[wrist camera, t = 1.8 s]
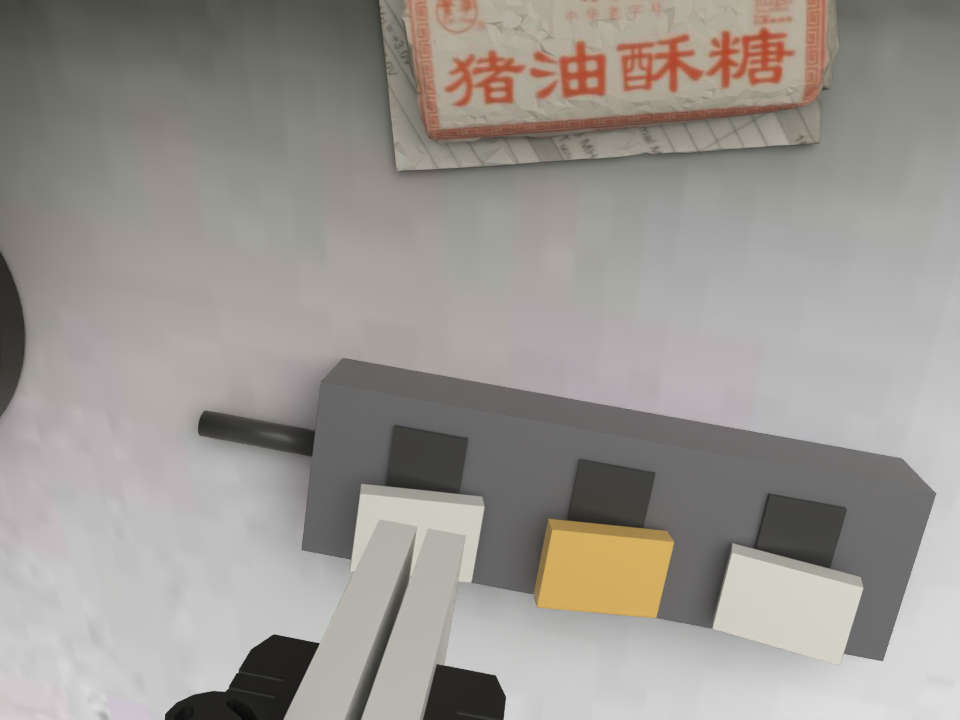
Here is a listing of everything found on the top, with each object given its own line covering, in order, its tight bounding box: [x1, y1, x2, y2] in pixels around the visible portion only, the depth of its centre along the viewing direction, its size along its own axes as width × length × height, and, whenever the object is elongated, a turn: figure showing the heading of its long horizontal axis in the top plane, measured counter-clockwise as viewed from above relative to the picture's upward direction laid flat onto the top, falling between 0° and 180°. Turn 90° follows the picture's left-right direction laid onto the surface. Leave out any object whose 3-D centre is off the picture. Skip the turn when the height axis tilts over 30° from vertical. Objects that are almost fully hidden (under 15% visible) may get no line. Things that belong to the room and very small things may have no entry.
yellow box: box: [533, 519, 674, 618], centre depth 38 cm, size 5×4×1 cm
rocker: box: [712, 543, 863, 665], centre depth 38 cm, size 5×4×1 cm
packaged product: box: [379, 0, 839, 171], centre depth 36 cm, size 18×5×10 cm
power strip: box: [198, 358, 936, 661], centre depth 41 cm, size 32×8×4 cm, turn 81°
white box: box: [350, 484, 485, 583], centre depth 39 cm, size 5×4×1 cm
